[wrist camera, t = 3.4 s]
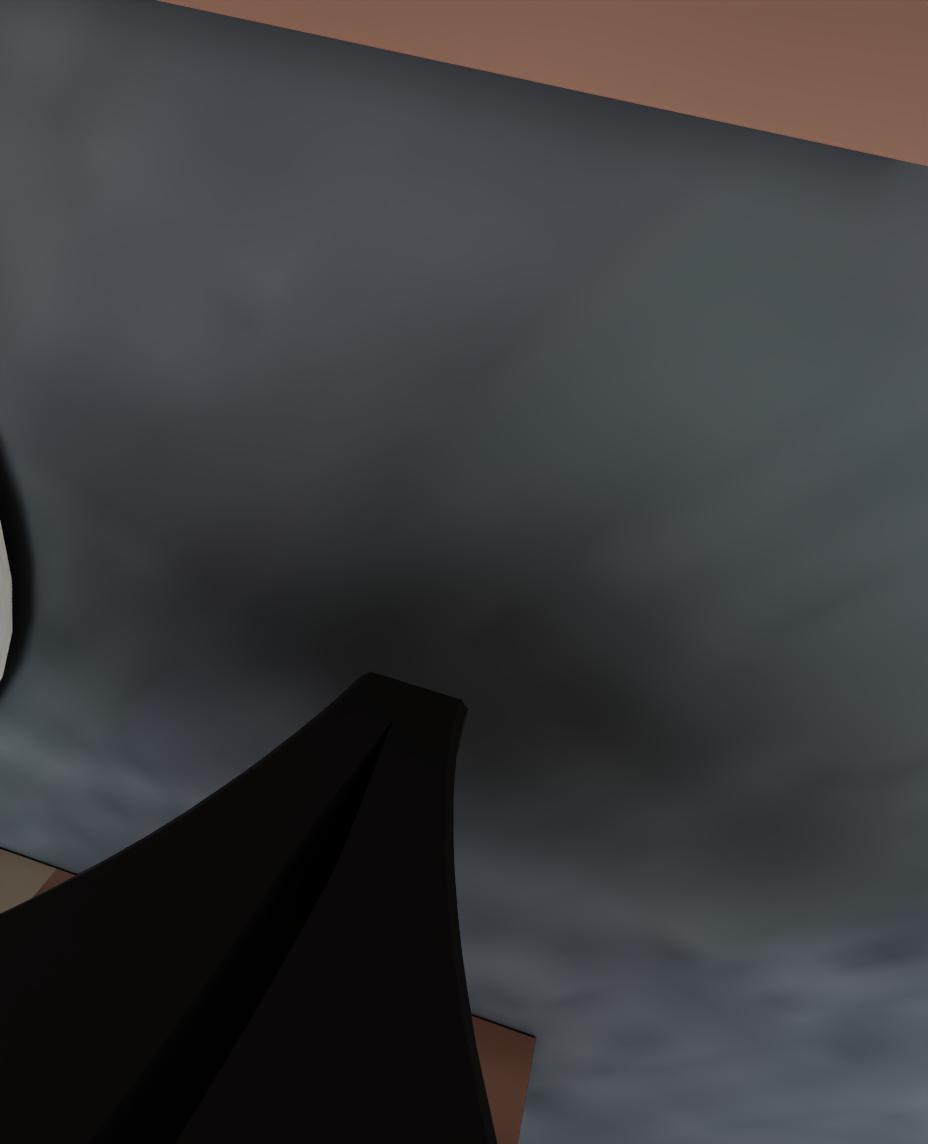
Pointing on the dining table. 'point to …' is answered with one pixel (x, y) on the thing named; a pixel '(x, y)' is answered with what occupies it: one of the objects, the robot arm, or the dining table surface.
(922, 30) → the track
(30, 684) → the dining table surface
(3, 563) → the pudding
